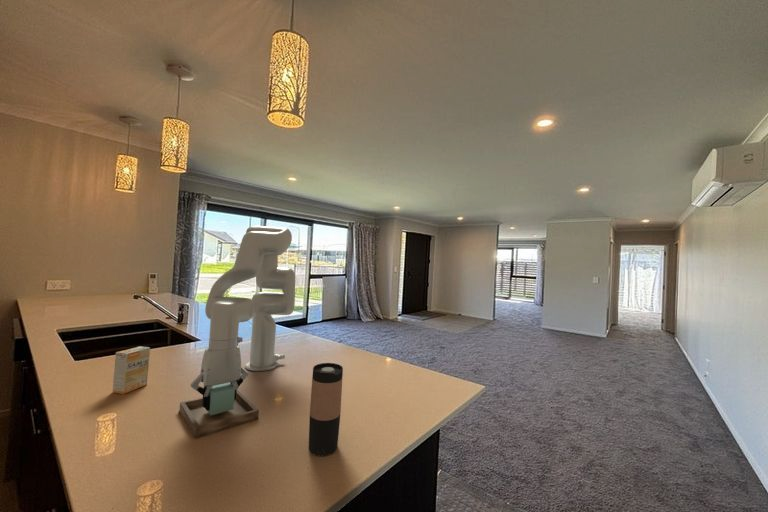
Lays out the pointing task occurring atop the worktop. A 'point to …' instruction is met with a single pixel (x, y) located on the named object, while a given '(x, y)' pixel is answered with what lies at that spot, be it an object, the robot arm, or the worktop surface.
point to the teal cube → (221, 398)
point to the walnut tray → (216, 416)
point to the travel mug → (325, 408)
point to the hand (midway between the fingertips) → (219, 404)
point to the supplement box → (131, 369)
